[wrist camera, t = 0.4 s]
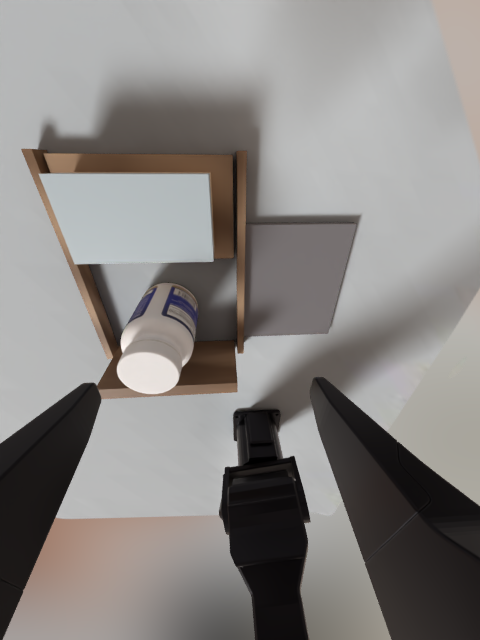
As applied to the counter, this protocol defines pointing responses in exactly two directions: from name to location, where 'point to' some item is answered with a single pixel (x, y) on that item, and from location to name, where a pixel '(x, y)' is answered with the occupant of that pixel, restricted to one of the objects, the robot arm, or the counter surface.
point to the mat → (293, 276)
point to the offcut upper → (133, 216)
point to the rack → (214, 356)
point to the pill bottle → (158, 339)
